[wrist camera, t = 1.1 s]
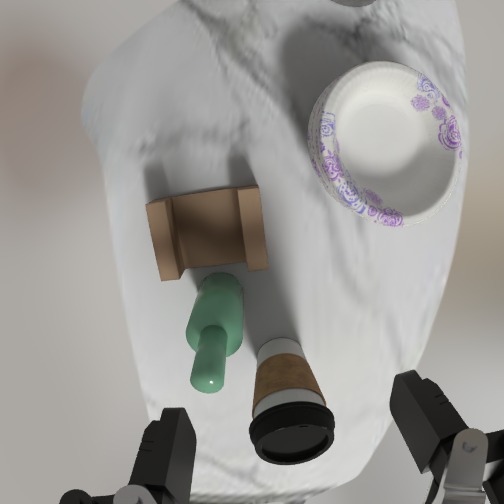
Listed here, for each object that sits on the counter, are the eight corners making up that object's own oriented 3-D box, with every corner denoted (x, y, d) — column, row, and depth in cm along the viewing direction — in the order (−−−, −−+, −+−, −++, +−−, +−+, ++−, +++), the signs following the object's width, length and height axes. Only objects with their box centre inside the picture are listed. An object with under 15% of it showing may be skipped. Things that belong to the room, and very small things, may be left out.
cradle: (155, 199, 30) (145, 204, 27) (257, 184, 30) (259, 187, 27) (168, 269, 33) (161, 281, 30) (266, 258, 33) (268, 269, 30)
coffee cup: (318, 330, 36) (352, 419, 21) (305, 380, 38) (326, 467, 24) (250, 327, 35) (254, 421, 21) (244, 378, 38) (245, 470, 24)
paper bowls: (441, 135, 29) (483, 135, 21) (381, 237, 32) (415, 259, 25) (344, 53, 26) (371, 27, 18) (272, 160, 30) (281, 161, 22)
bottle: (195, 275, 33) (164, 356, 19) (239, 270, 33) (236, 352, 19) (203, 313, 35) (182, 405, 20) (245, 309, 35) (246, 402, 20)
